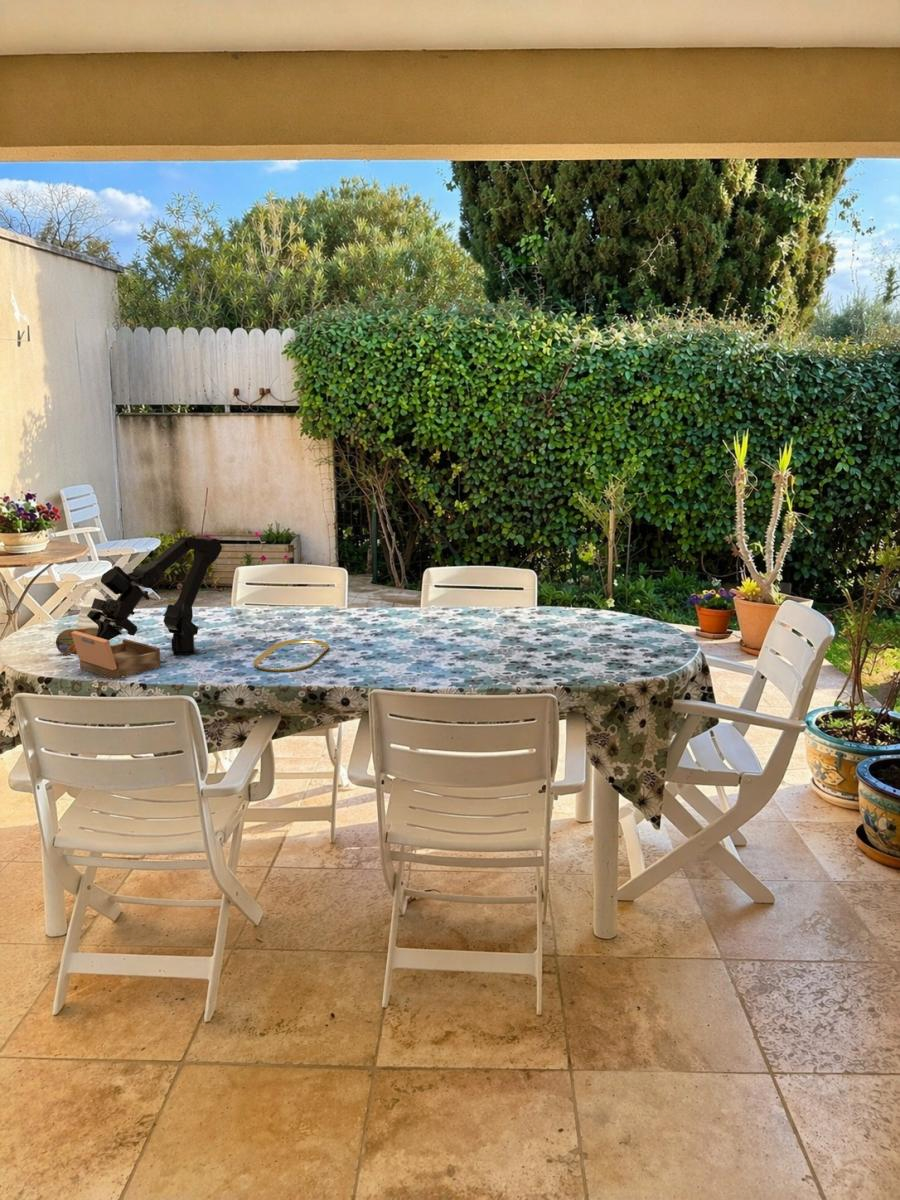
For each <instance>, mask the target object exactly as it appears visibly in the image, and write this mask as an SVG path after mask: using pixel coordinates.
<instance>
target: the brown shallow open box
mask: <svg viewBox="0 0 900 1200" xmlns="http://www.w3.org/2000/svg"><path fill="white" fill-rule="evenodd" d="M110 646H111V650H112V653H113V656H114V660H115V663H116V667H117V668H116V669H114V670H110V669H107V668H104V667H100V666H97V665H94V664H91V663H88V662H85V661H82V660H79V669H80V668H82V669H81V670H83V669H85V670H84V671H86V670H88V671H87V672H89V671H91V672H90V673H92V672H94V673H93V674H95V673H97V674H96V675H98V674H100V675H99V676H101V675H103V676H102V677H104V676H106V677H105V678H107V677H109V678H108V679H110V678H112V679H111V680H113V679H114V680H116V679H115V678H118V679H120V678H119V677H121V678H123V677H122V676H125V677H128V676H127V675H129V676H131V675H130V674H133V675H135V674H134V673H137V674H140V673H139V672H141V673H143V671H145V672H148V671H147V670H149V671H152V670H151V669H153V670H156V668H157V669H159V667H161V668H162V666H161V650H160V647H157V646H154V645H153V646H152V645H148V644H146V643H143V642H142V643H141V642H138V641H134V640H131V639H126V638H124V639H122V642H121V643H116V644H110Z"/></svg>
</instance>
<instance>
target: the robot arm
mask: <svg viewBox="0 0 900 1200" xmlns="http://www.w3.org/2000/svg"><path fill="white" fill-rule="evenodd" d="M222 549H223V545H222V543H221V541H220V540H219V539H218V538H215V537H207V536H201V537H199V538H195V537H193V536H188V535H181V536H179V538H178V539H177V540H176V541H175V542H174V543H173V544H172V545H170V546H169V547H168V548H167V549H165V550H164V551H163V552H162V553H161V554H160V555H158V556H157V557H155V558H154V559H153V560H151V561H149V562H146V563H145V564H141V565H140V566H138V567H136V568H135V569H134V570H132V572H130V573H126V572H125V571H124V570H123V569H122V567H120V566H118V565H114V566H113V568H111V569H108V570H107V571H106V572H104V573H103V574H102V576H101V578H100V583H101V584H103V586H105V587H106V588H107V589H108V590H109V591H111V592H112V593H113V594H114V595H119V596H118V597H117V599H112V598H107V599H106V601H105V600H101V599H97V598H94V601H93V604H92V607H91V608H93V609H97V610H100V611H102V612H100V611H96V610H91V611H90V612H89V613H88V615H87V617H89V618H90V619H91V620H92V621H94V622H95V623H96V624H97V625H98V632H97V635H96V637H99V638H102V639H106V640H109V641H111V640H113V639H114V638H116V637H118V636H122V635H123V633H122V631H123V630H126V631H127V635H129V636H133V637H135V635H136V633H138V626H137V625H136V624H135V623H133V622H132V621H131V620H130V619H129V617H130V616H134V615H135V613H136V612H135V611H134V609H136V608H137V606H138V605H139V602H140V601H141V600H145V601H150V596H149V591H147V590H144V589H143V590H142V588H146V589H152V588H154V587H155V586H156V585H157V584H158V583H159V582H160V581H161V579H162V578H163V576H164V575H163V574H164V573H165V572H166V571H167V570H168V569H169V568H170V567H172V566H173V565H174V564H175V563H176V562H177V561H179V560H180V559H181V558H182V557H183V556H185V554H187V553H189V551H190V550H193V563H192V565H191V568H190V570H189V572H188V574H187V577H186V580H185V582H184V584H183V587H182V589H181V592H180V594H179V596H178V599H177V601H176V602H174V604H169V603H168V604H167V607H166V611H165V613H164V614H163V617H164V618H163V623H164V625H165V628H167V631H168V632H169V634H172V638H171V640H170V641H171V652H172V653H173V655H174V656H178V655H194V654H195V651H196V647H195V646H196V645H195V636H196V635H198V633H199V632H198V631H199V627H198V626H197V625H196V624H195V623H193V622H192V621H193V616H194V615H193V605H194V603H195V600H196V598H197V595H198V593H199V591H200V588H201V585H202V584H203V581H204V579H205V576H206V574H207V572H208V569H209V566H211V565H212V564H213V563H214V562H215V561H216V560H217V559H218V558H219V556H220V554H221V552H222ZM133 584H134V585H133ZM140 587H141V588H140ZM105 615H106V616H105ZM110 621H111V622H110Z"/></svg>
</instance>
